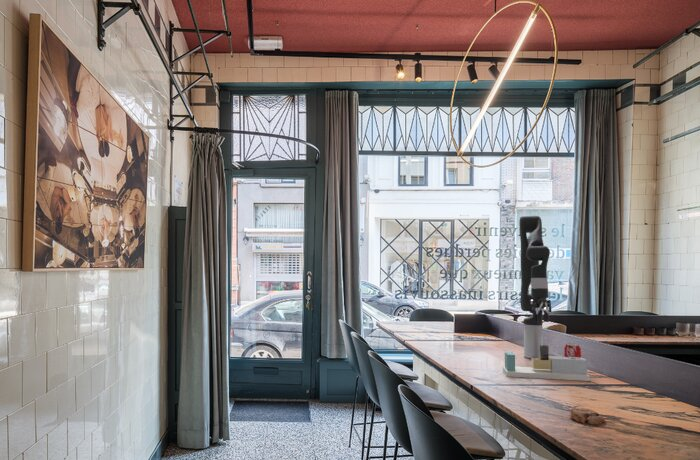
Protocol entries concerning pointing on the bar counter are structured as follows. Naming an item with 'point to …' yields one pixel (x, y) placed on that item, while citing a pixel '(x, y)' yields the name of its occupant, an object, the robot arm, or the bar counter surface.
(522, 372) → the board
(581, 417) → the cookie
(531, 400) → the bar counter surface
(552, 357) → the steel sleeve
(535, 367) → the tan knobbed slider
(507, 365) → the socket
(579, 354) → the soda can
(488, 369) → the bar counter surface
